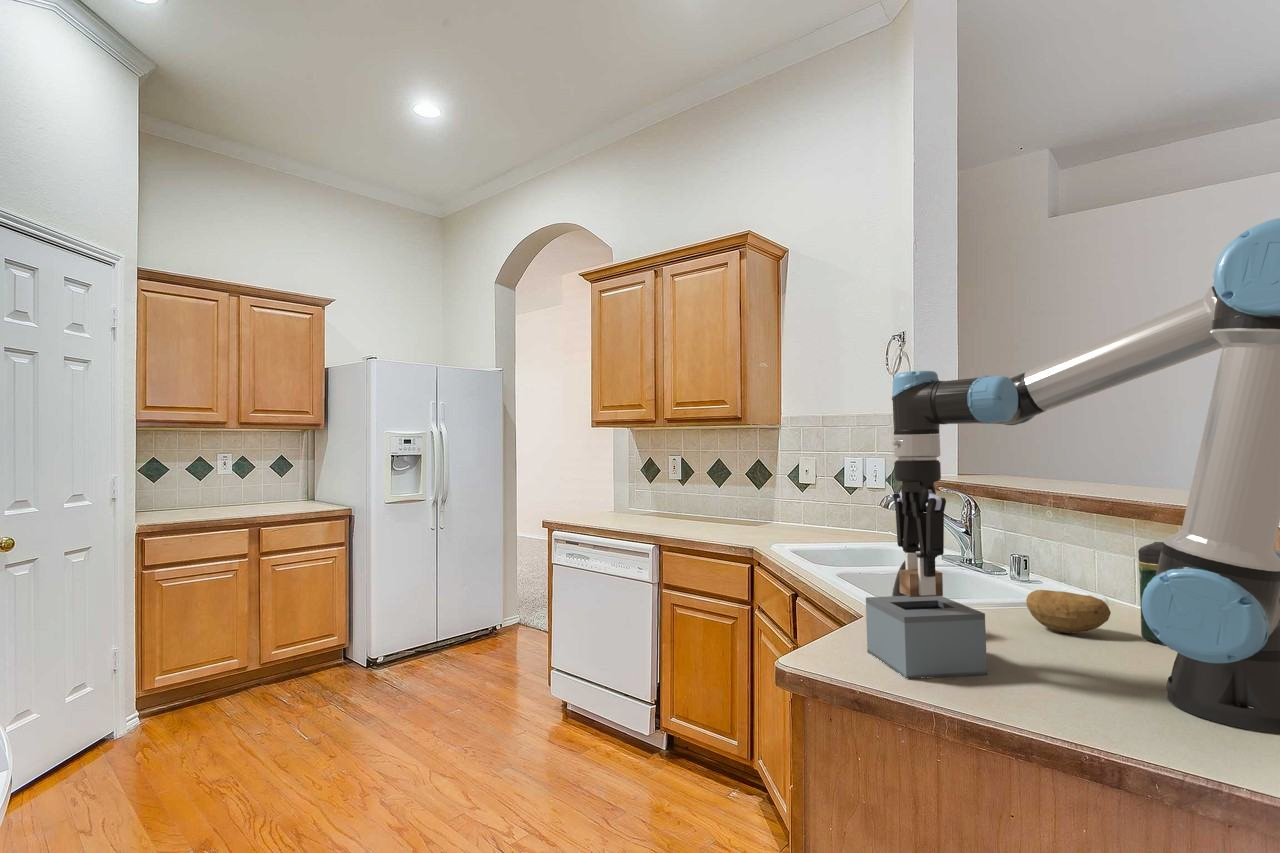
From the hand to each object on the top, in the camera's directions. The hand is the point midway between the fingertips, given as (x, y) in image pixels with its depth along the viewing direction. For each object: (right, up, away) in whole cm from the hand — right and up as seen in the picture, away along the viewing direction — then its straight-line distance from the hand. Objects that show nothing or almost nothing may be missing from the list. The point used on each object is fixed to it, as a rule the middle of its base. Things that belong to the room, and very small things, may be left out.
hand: (920, 591), depth 111 cm
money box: (0, -12, -1) cm, 12 cm away
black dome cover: (+8, -13, +18) cm, 24 cm away
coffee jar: (+52, -12, +9) cm, 54 cm away
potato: (+37, -12, +16) cm, 42 cm away
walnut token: (0, 0, 0) cm, 0 cm away
